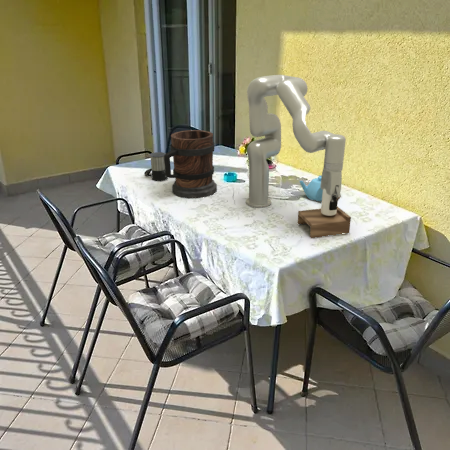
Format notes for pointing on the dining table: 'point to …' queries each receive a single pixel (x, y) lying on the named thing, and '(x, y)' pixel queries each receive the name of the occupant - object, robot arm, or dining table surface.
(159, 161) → the milk frother
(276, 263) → the dining table surface
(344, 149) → the robot arm
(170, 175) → the wooden tankard
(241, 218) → the dining table surface
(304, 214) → the shelf
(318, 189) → the teapot
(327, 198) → the can
